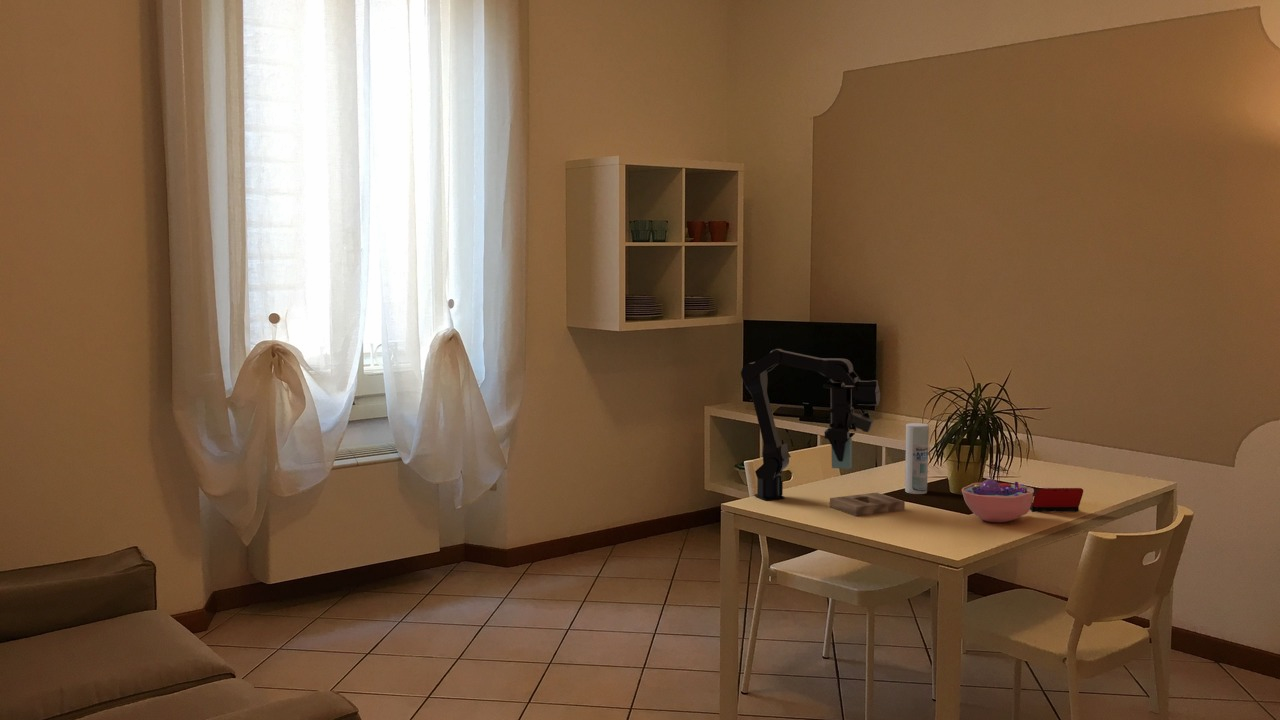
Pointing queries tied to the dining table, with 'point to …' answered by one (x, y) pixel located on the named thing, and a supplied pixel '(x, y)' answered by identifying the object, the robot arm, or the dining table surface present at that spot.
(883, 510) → the socket block
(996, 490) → the cell model
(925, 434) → the spray can
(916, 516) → the dining table surface
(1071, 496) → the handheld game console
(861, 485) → the dining table surface
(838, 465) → the keyed peg
